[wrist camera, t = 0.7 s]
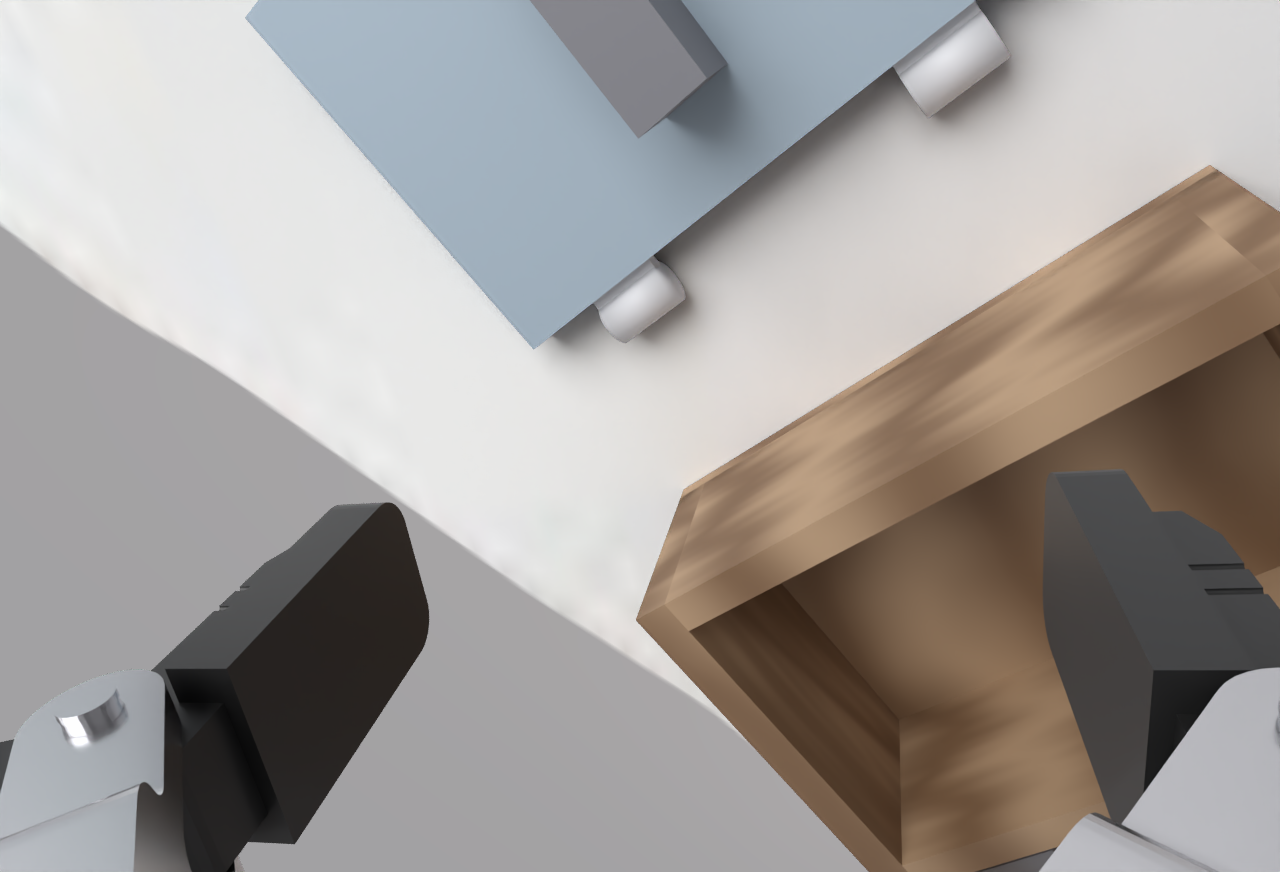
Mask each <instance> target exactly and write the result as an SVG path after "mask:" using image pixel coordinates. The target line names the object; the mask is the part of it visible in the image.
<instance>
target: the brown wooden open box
mask: <svg viewBox="0 0 1280 872" xmlns="http://www.w3.org/2000/svg"><path fill="white" fill-rule="evenodd" d="M1112 469H1123V470H1124V471H1125V472H1126V473H1127V474H1128V476H1129V477H1130V479H1131V480H1132V482H1133V483H1134V485H1135V486H1136V488H1137V489H1138V491H1139V492H1140V494H1141V495H1142V497H1143V498H1144V500H1145V501H1146V503H1147V504H1148V506H1149V507H1150V509H1151V510H1152V512H1159V511H1183V512H1184V513H1186V514H1188V515H1190V516H1191V517H1193V518H1195V519H1196V520H1198V521H1200V522H1202V523H1203V524H1205V525H1207V526H1208V527H1210V528H1212V529H1214V530H1215V531H1217V532H1219V533H1221V534H1222V535H1223V536H1224V538H1225V539H1226V540H1227V541H1228V543H1229V544H1230V545H1231V547H1232V548H1233V549H1234V551H1235V552H1236V553H1237V554H1238V556H1239V557H1240V558H1241V560H1242V561H1243V562H1244V567H1245V569H1249V570H1250V571H1251V572H1252V574H1253V575H1254V576H1255V578H1256V579H1257V580H1258V581H1259V583H1260V584H1261V585H1262V587H1263V592H1264V594H1269V596H1270V597H1271V598H1272V600H1273V601H1274V602H1275V603H1276V605H1277V606H1278V607H1279V609H1280V212H1279V211H1277V210H1276V209H1274V208H1273V207H1271V206H1270V205H1268V204H1267V203H1265V202H1264V201H1262V200H1261V199H1259V198H1258V197H1256V196H1255V195H1253V194H1252V193H1251V192H1249V191H1248V190H1246V189H1245V188H1243V187H1242V186H1240V185H1239V184H1237V183H1236V182H1234V181H1233V180H1231V179H1230V178H1228V177H1227V176H1225V175H1224V174H1222V173H1221V172H1219V171H1218V170H1216V169H1215V168H1213V167H1212V166H1211V165H1209V166H1208V167H1206V168H1204V169H1203V170H1201V171H1199V172H1198V173H1196V174H1195V175H1193V176H1191V177H1190V178H1188V179H1186V180H1185V181H1183V182H1182V183H1180V184H1178V185H1177V186H1175V187H1173V188H1172V189H1170V190H1169V191H1167V192H1165V193H1164V194H1162V195H1161V196H1159V197H1157V198H1156V199H1154V200H1152V201H1151V202H1149V203H1148V204H1146V205H1144V206H1143V207H1141V208H1139V209H1138V210H1136V211H1135V212H1133V213H1131V214H1130V215H1128V216H1126V217H1125V218H1123V219H1122V220H1120V221H1118V222H1117V223H1115V224H1114V225H1112V226H1110V227H1109V228H1107V229H1105V230H1104V231H1102V232H1101V233H1099V234H1097V235H1096V236H1094V237H1092V238H1091V239H1089V240H1088V241H1086V242H1084V243H1083V244H1081V245H1079V246H1078V247H1076V248H1075V249H1073V250H1071V251H1070V252H1068V253H1067V254H1065V255H1063V256H1062V257H1060V258H1058V259H1057V260H1055V261H1054V262H1052V263H1050V264H1049V265H1047V266H1045V267H1044V268H1042V269H1041V270H1039V271H1037V272H1036V273H1034V274H1032V275H1031V276H1029V277H1028V278H1026V279H1024V280H1023V281H1021V282H1019V283H1018V284H1016V285H1015V286H1013V287H1011V288H1010V289H1008V290H1007V291H1005V292H1003V293H1002V294H1000V295H998V296H997V297H995V298H994V299H992V300H990V301H989V302H987V303H985V304H984V305H982V306H981V307H979V308H977V309H976V310H974V311H972V312H971V313H969V314H968V315H966V316H964V317H963V318H961V319H960V320H958V321H956V322H955V323H953V324H951V325H950V326H948V327H947V328H945V329H943V330H942V331H940V332H938V333H937V334H935V335H934V336H932V337H930V338H929V339H927V340H925V341H924V342H922V343H921V344H919V345H917V346H916V347H914V348H913V349H911V350H909V351H908V352H906V353H904V354H903V355H901V356H900V357H898V358H896V359H895V360H893V361H891V362H890V363H888V364H887V365H885V366H883V367H882V368H880V369H878V370H877V371H875V372H874V373H872V374H870V375H869V376H867V377H865V378H864V379H862V380H861V381H859V382H857V383H856V384H854V385H853V386H851V387H849V388H848V389H846V390H844V391H843V392H841V393H840V394H838V395H836V396H835V397H833V398H831V399H830V400H828V401H827V402H825V403H823V404H822V405H820V406H818V407H817V408H815V409H814V410H812V411H810V412H809V413H807V414H806V415H804V416H802V417H801V418H799V419H797V420H796V421H794V422H793V423H791V424H789V425H788V426H786V427H784V428H783V429H781V430H780V431H778V432H776V433H775V434H773V435H771V436H770V437H768V438H767V439H765V440H763V441H762V442H760V443H759V444H757V445H755V446H754V447H752V448H750V449H749V450H747V451H746V452H744V453H742V454H741V455H739V456H737V457H736V458H734V459H733V460H731V461H729V462H728V463H726V464H724V465H723V466H721V467H720V468H718V469H716V470H715V471H713V472H711V473H710V474H708V475H707V476H705V477H703V478H702V479H700V480H699V481H697V482H695V483H694V484H692V485H690V486H689V487H687V488H686V489H684V490H683V493H682V496H681V498H680V501H679V504H678V507H677V509H676V512H675V515H674V517H673V520H672V523H671V526H670V528H669V531H668V534H667V536H666V539H665V542H664V545H663V547H662V550H661V553H660V556H659V558H658V561H657V564H656V566H655V569H654V572H653V575H652V577H651V580H650V583H649V586H648V588H647V591H646V594H645V596H644V599H643V602H642V605H641V607H640V610H639V613H638V616H637V618H636V621H637V622H638V623H639V624H640V625H641V626H642V627H643V628H644V629H645V631H646V632H647V633H648V634H649V635H650V636H651V637H652V638H653V639H654V640H655V641H656V642H657V643H658V645H659V646H660V647H661V648H662V649H663V650H664V651H665V652H666V653H667V654H668V655H669V656H670V658H671V659H672V660H673V661H674V662H675V663H676V664H677V665H678V666H679V667H680V668H681V669H682V670H683V672H684V673H685V674H686V675H687V676H688V677H689V678H690V679H691V680H692V681H693V682H694V683H695V685H696V686H697V687H698V688H699V689H700V690H701V691H702V692H703V693H704V694H705V695H706V696H707V698H708V699H709V700H710V701H711V702H712V703H713V704H714V705H715V706H716V707H717V708H718V709H719V710H720V712H721V713H722V714H723V715H724V716H725V717H726V718H727V719H728V720H729V721H730V722H731V723H732V725H733V726H734V727H735V728H736V729H737V730H738V731H739V732H740V733H741V734H742V735H743V736H744V737H745V739H746V740H747V741H748V742H749V743H750V744H751V745H752V746H753V747H754V748H755V749H756V750H757V752H758V753H759V754H760V755H761V756H762V757H763V758H764V759H765V760H766V761H767V762H768V763H769V764H770V766H771V767H772V768H773V769H774V770H775V771H776V772H777V773H778V774H779V775H780V776H781V777H782V778H783V780H784V781H785V782H786V783H787V784H788V785H789V786H790V787H791V788H792V789H793V790H794V791H795V793H796V794H797V795H798V796H799V797H800V798H801V799H802V800H803V801H804V802H805V803H806V804H807V806H809V808H810V809H811V810H812V811H813V812H814V813H815V814H816V815H817V816H818V817H819V818H820V820H821V821H822V822H823V823H824V824H825V825H826V826H827V827H828V828H829V829H830V830H831V831H832V833H833V834H834V835H835V836H836V837H837V838H838V839H839V840H840V841H841V842H842V843H843V844H844V845H845V847H846V848H848V850H849V851H850V852H851V853H852V854H853V855H854V856H855V857H856V858H857V860H859V862H860V863H861V864H862V865H863V866H864V867H865V868H866V869H867V870H868V871H869V872H1039V871H1040V870H1041V868H1042V867H1043V866H1044V864H1045V863H1046V862H1047V860H1048V859H1049V858H1050V857H1051V855H1052V854H1053V853H1054V851H1055V850H1056V849H1057V847H1058V846H1059V845H1060V844H1061V842H1062V841H1063V840H1064V838H1065V837H1066V836H1067V834H1068V833H1069V832H1070V831H1071V830H1072V828H1073V827H1074V826H1075V825H1076V824H1077V823H1078V822H1079V821H1080V820H1081V819H1082V818H1083V817H1085V816H1086V815H1088V814H1090V813H1094V812H1096V813H1099V814H1101V815H1104V816H1106V817H1108V818H1110V815H1109V812H1108V810H1107V807H1106V804H1105V801H1104V798H1103V796H1102V793H1101V790H1100V787H1099V784H1098V781H1097V779H1096V776H1095V773H1094V770H1093V767H1092V765H1091V762H1090V759H1089V756H1088V753H1087V750H1086V748H1085V745H1084V742H1083V739H1082V736H1081V734H1080V731H1079V728H1078V725H1077V722H1076V720H1075V717H1074V714H1073V711H1072V708H1071V705H1070V703H1069V700H1068V697H1067V694H1066V691H1065V689H1064V686H1063V683H1062V680H1061V677H1060V675H1059V672H1058V669H1057V666H1056V663H1055V660H1054V658H1053V655H1052V652H1051V649H1050V646H1049V642H1048V638H1047V633H1046V627H1045V620H1044V611H1043V555H1044V516H1045V489H1046V482H1047V478H1048V475H1049V473H1051V472H1070V471H1091V470H1112ZM1110 819H1111V818H1110Z"/></svg>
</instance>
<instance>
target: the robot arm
mask: <svg viewBox="0 0 1280 872" xmlns="http://www.w3.org/2000/svg"><path fill="white" fill-rule="evenodd" d="M1043 611H1044V620H1045V627H1046V633H1047V638H1048V642H1049V646H1050V649H1051V652H1052V655H1053V658H1054V660H1055V663H1056V666H1057V669H1058V672H1059V675H1060V677H1061V680H1062V683H1063V686H1064V689H1065V691H1066V694H1067V697H1068V700H1069V703H1070V705H1071V708H1072V711H1073V714H1074V717H1075V720H1076V722H1077V725H1078V728H1079V731H1080V734H1081V736H1082V739H1083V742H1084V745H1085V748H1086V750H1087V753H1088V756H1089V759H1090V762H1091V765H1092V767H1093V770H1094V773H1095V776H1096V779H1097V781H1098V784H1099V787H1100V790H1101V793H1102V796H1103V798H1104V801H1105V804H1106V807H1107V810H1108V812H1109V815H1110V818H1111V819H1110V818H1108V817H1106V816H1104V815H1101V814H1099V813H1096V812H1094V813H1090V814H1088V815H1086V816H1085V817H1083V818H1082V819H1081V820H1080V821H1079V822H1078V823H1077V824H1076V825H1075V826H1074V827H1073V828H1072V830H1071V831H1070V832H1069V833H1068V834H1067V836H1066V837H1065V838H1064V840H1063V841H1062V842H1061V844H1060V845H1059V846H1058V847H1057V849H1056V850H1055V851H1054V853H1053V854H1052V855H1051V857H1050V858H1049V859H1048V860H1047V862H1046V863H1045V864H1044V866H1043V867H1042V868H1041V870H1040V871H1039V872H1280V609H1279V607H1278V606H1277V605H1276V603H1275V602H1274V601H1273V600H1272V598H1271V597H1270V596H1269V594H1264V592H1263V587H1262V585H1261V584H1260V583H1259V581H1258V580H1257V579H1256V578H1255V576H1254V575H1253V574H1252V572H1251V571H1250V570H1249V569H1245V567H1244V562H1243V561H1242V560H1241V558H1240V557H1239V556H1238V554H1237V553H1236V552H1235V551H1234V549H1233V548H1232V547H1231V545H1230V544H1229V543H1228V541H1227V540H1226V539H1225V538H1224V536H1223V535H1222V534H1221V533H1219V532H1217V531H1215V530H1214V529H1212V528H1210V527H1208V526H1207V525H1205V524H1203V523H1202V522H1200V521H1198V520H1196V519H1195V518H1193V517H1191V516H1190V515H1188V514H1186V513H1184V512H1183V511H1159V512H1152V510H1151V509H1150V507H1149V506H1148V504H1147V503H1146V501H1145V500H1144V498H1143V497H1142V495H1141V494H1140V492H1139V491H1138V489H1137V488H1136V486H1135V485H1134V483H1133V482H1132V480H1131V479H1130V477H1129V476H1128V474H1127V473H1126V472H1125V471H1124V470H1123V469H1112V470H1091V471H1070V472H1051V473H1049V475H1048V478H1047V482H1046V489H1045V516H1044V555H1043ZM428 627H429V609H428V603H427V599H426V595H425V592H424V588H423V584H422V581H421V577H420V574H419V570H418V566H417V563H416V559H415V556H414V552H413V549H412V545H411V541H410V538H409V534H408V531H407V527H406V523H405V520H404V517H403V515H402V513H401V511H400V510H399V508H398V507H397V506H396V505H394V504H393V503H370V504H347V505H337V506H334V507H333V508H331V509H330V510H329V511H328V512H327V513H326V514H325V515H324V516H323V517H322V518H321V519H320V520H319V521H318V522H317V523H316V524H315V525H314V526H312V528H310V529H309V530H308V531H307V532H306V533H305V534H304V535H303V536H302V537H301V538H300V539H299V540H298V541H297V542H296V543H295V544H294V545H293V546H292V547H291V548H290V549H288V550H286V551H284V552H283V553H281V554H279V555H278V556H276V557H274V558H273V559H271V560H269V561H268V562H266V563H264V565H262V566H261V567H260V568H259V569H258V570H257V571H256V572H255V573H254V574H253V575H252V576H251V577H250V578H249V579H248V580H247V581H245V582H244V583H243V584H242V585H241V586H240V591H235V592H234V593H233V594H232V595H231V596H230V597H229V598H227V600H225V601H224V602H223V603H222V604H221V605H220V610H219V611H214V612H213V613H212V614H211V615H210V616H209V617H207V618H206V619H205V620H204V621H203V622H202V623H201V624H200V625H199V626H198V627H197V628H196V629H195V630H194V631H193V632H192V633H190V635H188V636H187V637H186V638H185V639H184V640H183V641H182V642H181V643H180V644H179V645H178V646H177V647H176V648H175V649H174V650H173V651H172V652H170V653H169V655H167V656H166V657H165V658H164V659H163V660H162V661H161V662H160V663H159V664H158V665H157V666H156V667H155V668H154V669H152V670H151V671H150V670H142V669H133V670H124V671H118V672H114V673H110V674H106V675H103V676H100V677H97V678H94V679H91V680H89V681H86V682H84V683H81V684H79V685H77V686H75V687H73V688H71V689H69V690H67V691H65V692H63V693H62V694H60V695H58V696H57V697H55V698H53V699H52V700H50V701H49V702H47V703H46V704H45V705H43V706H42V707H41V708H39V709H38V710H37V711H36V712H35V713H34V714H33V715H31V716H30V717H29V718H28V719H27V720H26V722H25V723H24V724H23V725H22V726H21V728H20V729H19V731H18V732H17V734H16V736H15V739H14V740H9V741H5V742H0V872H245V871H244V868H243V866H242V864H241V861H240V859H239V857H238V855H239V853H240V852H241V850H242V849H243V848H244V846H245V845H246V844H247V842H264V843H283V844H295V843H296V842H297V840H298V839H299V837H300V835H301V834H302V832H303V831H304V829H305V828H306V826H307V825H308V823H309V822H310V820H311V819H312V817H313V816H314V814H315V813H316V811H317V809H318V808H319V806H320V805H321V803H322V802H323V800H324V799H325V797H326V796H327V794H328V793H329V791H330V790H331V788H332V787H333V785H334V784H335V782H336V781H337V779H338V778H339V776H340V775H341V773H342V771H343V770H344V768H345V767H346V765H347V764H348V762H349V761H350V759H351V758H352V756H353V755H354V753H355V752H356V750H357V749H358V747H359V745H360V744H361V742H362V741H363V739H364V738H365V736H366V735H367V733H368V732H369V730H370V729H371V727H372V726H373V724H374V723H375V721H376V720H377V718H378V717H379V715H380V714H381V712H382V710H383V709H384V707H385V706H386V704H387V703H388V701H389V700H390V698H391V697H392V695H393V694H394V692H395V691H396V689H397V688H398V686H399V684H400V683H401V681H402V680H403V678H404V677H405V675H406V674H407V672H408V671H409V669H410V668H411V666H412V665H413V663H414V662H415V660H416V659H417V657H418V655H419V654H420V652H421V651H422V649H423V647H424V645H425V642H426V638H427V634H428Z"/></svg>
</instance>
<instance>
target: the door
mask: <svg viewBox="0 0 1280 872" xmlns="http://www.w3.org/2000/svg"><path fill="white" fill-rule="evenodd" d="M245 18H246V20H247V21H248V22H249V23H250V24H251V25H252V26H253V28H254V29H255V30H256V31H257V32H258V33H259V34H260V36H261V37H262V38H263V39H264V40H265V41H266V42H267V44H268V45H269V46H270V47H271V48H272V49H273V51H274V52H275V53H276V54H277V55H278V56H279V57H280V59H281V60H282V61H283V62H284V63H285V64H286V65H287V67H288V68H289V69H290V70H291V71H292V72H293V74H294V75H295V76H296V77H297V78H298V79H299V80H300V82H301V83H302V84H303V85H304V86H305V87H306V88H307V90H308V91H309V92H310V93H311V94H312V95H313V96H314V98H315V99H316V100H317V101H318V102H319V103H320V105H321V106H322V107H323V108H324V109H325V110H326V111H327V113H328V114H329V115H330V116H331V117H332V118H333V119H334V121H335V122H336V123H337V124H338V125H339V126H340V128H341V129H342V130H343V131H344V132H345V133H346V134H347V136H348V137H349V138H350V139H351V140H352V141H353V142H354V144H355V145H356V146H357V147H358V148H359V149H360V150H361V152H362V153H363V154H364V155H365V156H366V157H367V159H368V160H369V161H370V162H371V163H372V164H373V165H374V167H375V168H376V169H377V170H378V171H379V172H380V173H381V175H382V176H383V177H384V178H385V179H386V180H387V182H388V183H389V184H390V185H391V186H392V187H393V188H394V190H395V191H396V192H397V193H398V194H399V195H400V196H401V198H402V199H403V200H404V201H405V202H406V203H407V204H408V206H409V207H410V208H411V209H412V210H413V211H414V213H415V214H416V215H417V216H418V217H419V218H420V219H421V221H422V222H423V223H424V224H425V225H426V226H427V227H428V229H429V230H430V231H431V232H432V233H433V234H434V236H435V237H436V238H437V239H438V240H439V241H440V242H441V244H442V245H443V246H444V247H445V248H446V249H447V250H448V252H449V253H450V254H451V255H452V256H453V257H454V258H455V260H456V261H457V262H458V263H459V264H460V265H461V267H462V268H463V269H464V270H465V271H466V272H467V273H468V275H469V276H470V277H471V278H472V279H473V280H474V281H475V283H476V284H477V285H478V286H479V287H480V288H481V289H482V291H483V292H484V293H485V294H486V295H487V296H488V298H489V299H490V300H491V301H492V302H493V303H494V304H495V306H496V307H497V308H498V309H499V310H500V311H501V312H502V314H503V315H504V316H505V317H506V318H507V319H508V321H509V322H510V323H511V324H512V325H513V326H514V327H515V329H516V330H517V331H518V332H519V333H520V334H521V335H522V337H523V338H524V339H525V340H526V341H527V342H528V343H529V345H530V346H531V347H532V348H533V349H535V348H536V347H538V346H539V345H540V344H542V343H543V342H544V341H545V340H547V339H548V338H549V337H550V336H552V335H553V334H554V333H555V332H557V331H558V330H559V329H560V328H562V327H563V326H564V325H566V324H567V323H568V322H569V321H571V320H572V319H573V318H574V317H576V316H577V315H578V314H579V313H581V312H582V311H583V310H585V309H586V308H587V307H588V306H590V305H591V304H592V303H593V304H594V305H595V306H596V308H597V309H598V310H599V316H600V319H601V321H602V323H603V325H604V326H605V328H606V329H607V330H608V332H609V333H610V334H611V335H612V336H613V337H614V338H616V339H617V340H619V341H620V342H623V343H627V342H629V341H630V340H631V339H633V338H634V337H635V336H637V335H638V334H639V333H641V332H642V331H643V330H645V329H646V328H647V327H649V326H650V325H651V324H653V323H654V322H655V321H657V320H658V319H659V318H661V317H662V316H663V315H665V314H666V313H668V312H669V311H670V310H672V309H673V308H674V307H676V306H677V305H678V304H680V303H681V302H682V301H684V300H685V291H684V288H683V286H682V284H681V282H680V280H679V279H678V277H677V276H676V275H675V273H674V272H673V271H672V270H671V269H670V268H669V267H668V266H667V265H665V264H664V263H662V262H659V261H657V259H656V258H655V257H654V256H653V255H654V254H655V253H657V252H658V251H659V250H660V249H662V248H663V247H664V246H665V245H667V244H668V243H669V242H671V241H672V240H673V239H674V238H676V237H677V236H678V235H679V234H681V233H682V232H683V231H684V230H686V229H687V228H688V227H690V226H691V225H692V224H693V223H695V222H696V221H697V220H698V219H700V218H701V217H702V216H703V215H705V214H706V213H707V212H708V211H710V210H711V209H712V208H714V207H715V206H716V205H717V204H719V203H720V202H721V201H722V200H724V199H725V198H726V197H727V196H729V195H730V194H731V193H733V192H734V191H735V190H736V189H738V188H739V187H740V186H741V185H743V184H744V183H745V182H746V181H748V180H749V179H750V178H751V177H753V176H754V175H755V174H757V173H758V172H759V171H760V170H762V169H763V168H764V167H765V166H767V165H768V164H769V163H770V162H772V161H773V160H774V159H776V158H777V157H778V156H779V155H781V154H782V153H783V152H784V151H786V150H787V149H788V148H789V147H791V146H792V145H793V144H794V143H796V142H797V141H798V140H800V139H801V138H802V137H803V136H805V135H806V134H807V133H808V132H810V131H811V130H812V129H813V128H815V127H816V126H817V125H819V124H820V123H821V122H822V121H824V120H825V119H826V118H827V117H829V116H830V115H831V114H832V113H834V112H835V111H836V110H838V109H839V108H840V107H841V106H843V105H844V104H845V103H846V102H848V101H849V100H850V99H851V98H853V97H854V96H855V95H856V94H858V93H859V92H860V91H862V90H863V89H864V88H865V87H867V86H868V85H869V84H870V83H872V82H873V81H874V80H875V79H877V78H878V77H879V76H881V75H882V74H883V73H884V72H886V71H887V70H888V69H889V68H891V67H893V68H894V69H895V71H896V72H897V74H898V75H899V77H900V79H901V80H902V82H903V84H904V85H905V87H906V88H907V90H908V91H909V93H910V94H911V96H912V97H913V99H914V100H915V102H916V103H917V104H918V106H919V107H920V108H921V110H922V111H923V112H924V114H925V115H926V116H927V117H928V118H930V117H931V116H932V115H934V114H935V113H936V112H938V111H939V110H940V109H942V108H943V107H944V106H946V105H947V104H948V103H950V102H951V101H952V100H954V99H955V98H957V97H958V96H959V95H961V94H962V93H963V92H965V91H966V90H967V89H969V88H970V87H971V86H973V85H974V84H975V83H977V82H978V81H979V80H981V79H982V78H983V77H985V76H986V75H987V74H989V73H990V72H991V71H993V70H994V69H996V68H997V67H998V66H1000V65H1001V64H1002V63H1004V62H1005V61H1006V60H1008V59H1009V58H1010V57H1011V55H1010V53H1009V51H1008V49H1007V48H1006V46H1005V45H1004V43H1003V41H1002V40H1001V38H1000V37H999V35H998V34H997V32H996V31H995V29H994V28H993V26H992V25H991V23H990V22H989V20H988V19H987V18H986V16H985V15H984V13H983V12H982V11H981V9H980V8H979V6H978V5H977V3H976V2H975V0H258V2H257V3H256V4H255V6H254V7H253V8H252V10H251V11H250V12H249V13H248V15H247V16H246V17H245Z"/></svg>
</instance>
